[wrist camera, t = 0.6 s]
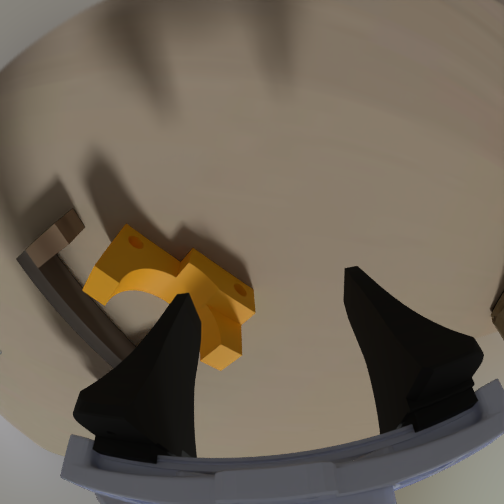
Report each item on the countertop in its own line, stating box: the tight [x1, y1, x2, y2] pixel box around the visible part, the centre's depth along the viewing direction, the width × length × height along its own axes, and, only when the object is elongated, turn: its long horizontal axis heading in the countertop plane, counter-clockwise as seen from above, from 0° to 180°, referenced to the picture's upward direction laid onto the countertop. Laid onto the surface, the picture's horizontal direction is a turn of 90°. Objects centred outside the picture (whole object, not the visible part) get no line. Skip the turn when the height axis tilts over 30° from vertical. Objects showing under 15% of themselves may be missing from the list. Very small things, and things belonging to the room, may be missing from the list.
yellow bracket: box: [82, 224, 255, 371], centre depth 21 cm, size 12×4×6 cm, turn 48°
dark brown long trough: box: [16, 209, 136, 368], centre depth 23 cm, size 7×18×3 cm, turn 25°
